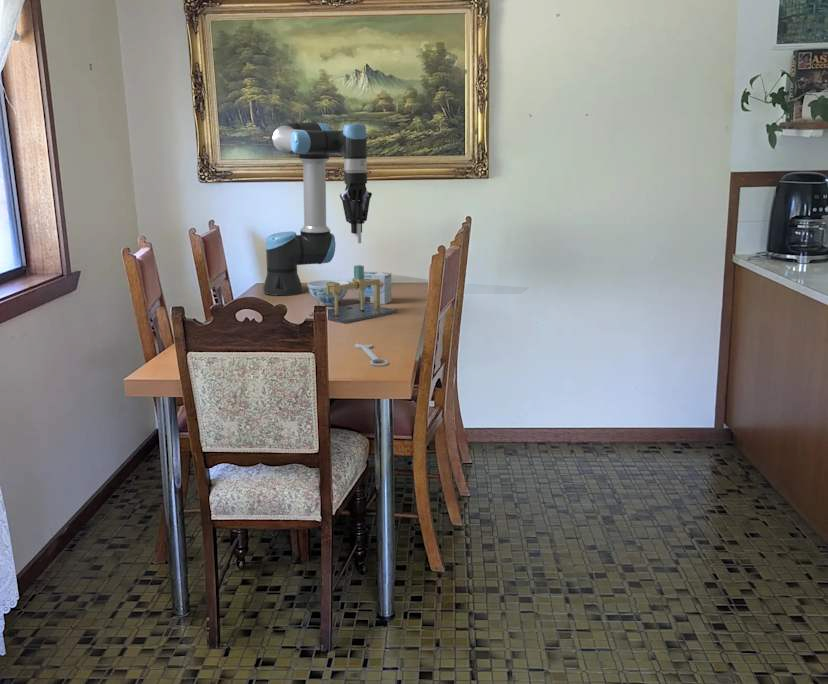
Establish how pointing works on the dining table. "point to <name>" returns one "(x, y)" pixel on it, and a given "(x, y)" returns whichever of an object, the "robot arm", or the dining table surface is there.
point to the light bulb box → (384, 287)
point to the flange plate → (357, 313)
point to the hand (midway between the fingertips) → (356, 242)
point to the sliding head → (360, 282)
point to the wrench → (371, 355)
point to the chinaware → (325, 292)
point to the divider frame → (336, 288)
